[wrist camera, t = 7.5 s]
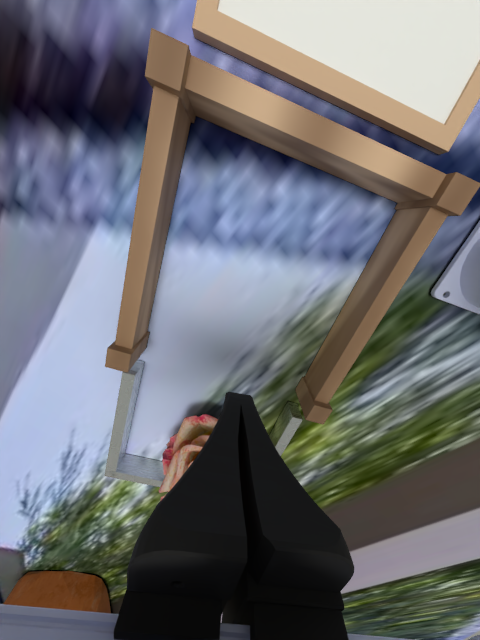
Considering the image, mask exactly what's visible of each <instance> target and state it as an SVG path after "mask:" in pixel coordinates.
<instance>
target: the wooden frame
mask: <svg viewBox="0 0 480 640" xmlns="http://www.w3.org/2000/svg"><path fill="white" fill-rule="evenodd" d="M145 77H146V78H147V80H148V82H149V83H150V85H151V86H152V88H153V95H152V102H151V108H150V115H149V121H148V128H147V135H146V141H145V148H144V155H143V161H142V168H141V175H140V181H139V188H138V195H137V201H136V208H135V215H134V221H133V228H132V235H131V241H130V248H129V254H128V261H127V268H126V274H125V281H124V288H123V294H122V301H121V308H120V314H119V321H118V328H117V334H116V341H115V342H114V343H112V344H111V345H110V346H109V347H108V349H107V356H106V363H105V367H108V368H112V369H116V370H120V371H123V372H127V373H128V372H129V370H130V369H131V368H132V366H133V365H134V364H135V362H136V361H137V360H138V358H139V357H140V356H141V354H142V353H143V351H144V350H145V349H146V347H147V342H148V338H149V333H150V332H148V331H147V330H148V326H149V321H150V316H151V311H152V306H153V302H154V297H155V292H156V287H157V282H158V277H159V273H160V268H161V263H162V258H163V253H164V249H165V244H166V239H167V234H168V229H169V225H170V220H171V215H172V210H173V205H174V201H175V196H176V191H177V186H178V181H179V176H180V172H181V167H182V162H183V157H184V152H185V148H186V143H187V138H188V133H189V128H190V124H191V123H194V121H195V117H196V116H198V117H200V118H202V119H204V120H207V121H209V122H211V123H214V124H216V125H218V126H221V127H223V128H225V129H228V130H230V131H232V132H235V133H237V134H239V135H242V136H244V137H246V138H248V139H251V140H253V141H255V142H258V143H260V144H262V145H265V146H267V147H269V148H272V149H274V150H276V151H279V152H281V153H283V154H285V155H288V156H290V157H292V158H295V159H297V160H299V161H302V162H304V163H306V164H309V165H311V166H313V167H316V168H318V169H320V170H323V171H325V172H327V173H329V174H332V175H334V176H336V177H339V178H341V179H343V180H346V181H348V182H350V183H353V184H355V185H357V186H360V187H362V188H364V189H367V190H369V191H371V192H373V193H376V194H378V195H380V196H383V197H385V198H387V199H390V200H392V201H394V202H397V205H396V207H395V210H397V211H396V212H395V214H394V216H393V218H392V220H391V221H390V223H389V225H388V227H387V229H386V230H385V232H384V234H383V236H382V238H381V239H380V241H379V243H378V245H377V247H376V249H375V250H374V252H373V254H372V256H371V258H370V259H369V261H368V263H367V265H366V267H365V268H364V270H363V272H362V274H361V276H360V277H359V279H358V281H357V283H356V285H355V286H354V288H353V290H352V292H351V294H350V296H349V297H348V299H347V301H346V303H345V305H344V306H343V308H342V310H341V312H340V314H339V315H338V317H337V319H336V321H335V323H334V324H333V326H332V328H331V330H330V332H329V334H328V335H327V337H326V339H325V341H324V343H323V344H322V346H321V348H320V350H319V352H318V353H317V355H316V357H315V359H314V361H313V362H312V364H311V366H310V368H309V370H308V371H307V373H306V375H305V377H302V378H301V380H300V382H299V384H298V386H297V387H296V389H295V391H296V393H297V396H298V399H299V402H300V405H301V408H302V411H303V414H304V417H305V419H306V420H309V421H312V422H316V423H320V424H324V423H325V421H326V420H327V418H328V417H329V415H330V413H331V412H332V408H331V406H330V404H329V401H330V400H331V398H332V396H333V395H334V393H335V392H336V390H337V389H338V387H339V385H340V384H341V382H342V381H343V379H344V378H345V376H346V374H347V373H348V371H349V370H350V368H351V367H352V365H353V363H354V362H355V360H356V359H357V357H358V356H359V354H360V352H361V351H362V349H363V348H364V346H365V345H366V343H367V341H368V340H369V338H370V337H371V335H372V334H373V332H374V330H375V329H376V327H377V326H378V324H379V323H380V321H381V319H382V318H383V316H384V315H385V313H386V312H387V310H388V308H389V307H390V305H391V304H392V302H393V301H394V299H395V297H396V296H397V294H398V293H399V291H400V290H401V288H402V286H403V285H404V283H405V282H406V280H407V279H408V277H409V275H410V274H411V272H412V271H413V269H414V268H415V266H416V264H417V263H418V261H419V260H420V258H421V257H422V255H423V253H424V252H425V250H426V249H427V247H428V246H429V244H430V242H431V241H432V239H433V238H434V236H435V235H436V233H437V231H438V230H439V228H440V227H441V225H442V224H443V222H444V220H445V219H446V217H447V216H460V215H461V214H462V212H463V211H464V209H465V208H466V206H467V205H468V203H469V202H470V200H471V199H472V197H473V196H474V194H475V193H476V191H477V190H478V188H479V187H480V183H478V182H476V181H474V180H472V179H470V178H468V177H466V176H464V175H462V174H459V173H457V172H455V173H451V174H444V173H442V172H440V171H438V170H436V169H434V168H432V167H429V166H427V165H425V164H423V163H421V162H419V161H417V160H415V159H412V158H410V157H408V156H406V155H404V154H402V153H400V152H397V151H395V150H393V149H391V148H389V147H387V146H385V145H382V144H380V143H378V142H376V141H374V140H372V139H370V138H367V137H365V136H363V135H361V134H359V133H357V132H355V131H352V130H350V129H348V128H346V127H344V126H342V125H340V124H338V123H335V122H333V121H331V120H329V119H327V118H325V117H323V116H320V115H318V114H316V113H314V112H312V111H310V110H308V109H305V108H303V107H301V106H299V105H297V104H295V103H293V102H290V101H288V100H286V99H284V98H282V97H280V96H278V95H275V94H273V93H271V92H269V91H267V90H265V89H263V88H261V87H258V86H256V85H254V84H252V83H250V82H248V81H246V80H243V79H241V78H239V77H237V76H235V75H233V74H231V73H228V72H226V71H224V70H222V69H220V68H218V67H216V66H213V65H211V64H209V63H207V62H205V61H203V60H201V59H198V58H196V57H194V56H192V55H191V53H190V50H189V46H188V45H186V44H184V43H182V42H180V41H178V40H176V39H174V38H172V37H169V36H167V35H165V34H163V33H161V32H159V31H157V30H155V29H153V28H151V35H150V42H149V50H148V57H147V64H146V71H145Z"/></svg>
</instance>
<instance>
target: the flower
mask: <svg viewBox="0 0 480 640" xmlns="http://www.w3.org/2000/svg"><path fill="white" fill-rule="evenodd" d="M217 421H218V419H217V418H215V417H212V416H210V415H207V414H203V415H201V416H200V417H197V416H196V415H194V416H190V417H186V418H184V420H183V422H182V425H181V427H180V429H179V432H178V434H175V435H174V436H172V437H170V442H169V443H168V444H167V449H166V450H165V451H164V453H163V460H162V463H163V470H164V475H166V476H165V478H164V480H163V482H162V485H161V487H160V489H159V492H160V493H161V492H166V491H167V492H169V491H170V490H171V489H172V488H173V487H174V485H175V484H176V483H177V482H178V481H179V479H180V478H181V477H182V476H183V474H184V473H185V472H186V470H187V469H188V468H189V467H190V465H191V464H192V462H193V461H194V460H195V458H196V457H197V455H198V454H199V452H200V451H201V449H202V448H203V446H204V445H205V443H206V441H207V440H208V438H209V436H210V434H211V433H212V431H213V429H214V427H215V425H216V423H217ZM212 428H213V429H212ZM163 483H164V484H163ZM166 495H167V494H166ZM166 495H165V496H166ZM165 496H162V497H161V500H162V499H163V498H164V497H165Z"/></svg>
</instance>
